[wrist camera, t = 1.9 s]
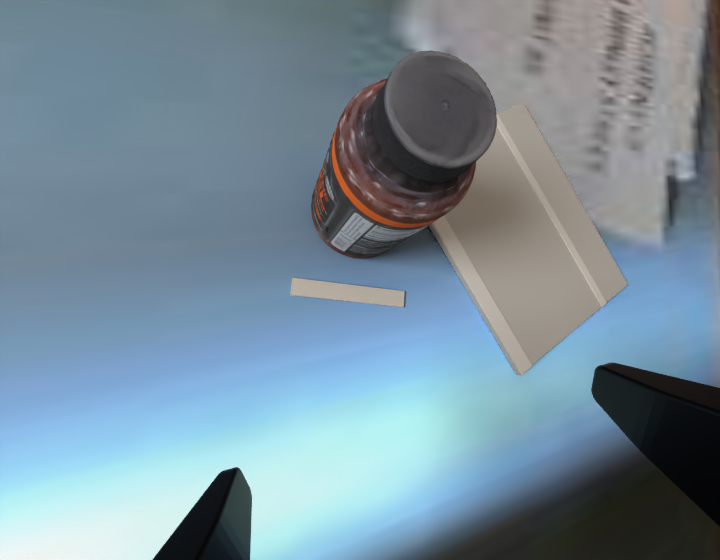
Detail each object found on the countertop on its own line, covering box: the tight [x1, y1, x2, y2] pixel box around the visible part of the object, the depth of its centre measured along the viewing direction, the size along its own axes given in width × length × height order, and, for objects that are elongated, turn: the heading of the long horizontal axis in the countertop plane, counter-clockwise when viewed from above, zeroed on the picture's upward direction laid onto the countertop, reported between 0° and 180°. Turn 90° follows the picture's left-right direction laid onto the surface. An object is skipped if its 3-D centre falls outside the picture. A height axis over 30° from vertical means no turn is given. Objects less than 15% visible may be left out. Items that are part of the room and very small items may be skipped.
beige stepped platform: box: [428, 102, 628, 375], centre depth 25 cm, size 16×12×1 cm
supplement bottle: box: [311, 51, 497, 258], centre depth 16 cm, size 6×6×11 cm
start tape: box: [290, 278, 405, 307], centre depth 21 cm, size 1×7×1 cm, turn 85°
